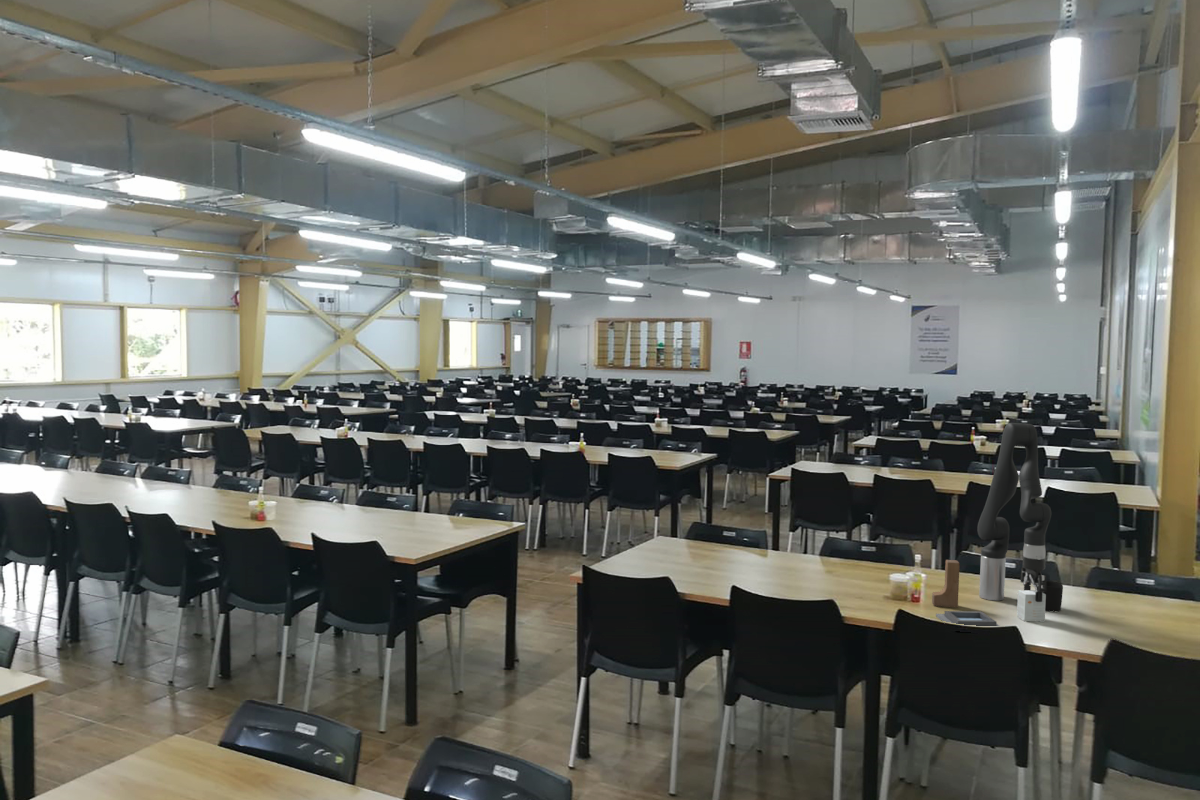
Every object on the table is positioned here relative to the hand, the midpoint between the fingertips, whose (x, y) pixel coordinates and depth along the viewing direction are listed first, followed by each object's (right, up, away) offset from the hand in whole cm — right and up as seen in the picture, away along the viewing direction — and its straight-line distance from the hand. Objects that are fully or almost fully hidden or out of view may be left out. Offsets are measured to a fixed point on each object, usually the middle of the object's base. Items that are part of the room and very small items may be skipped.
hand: (1032, 598), depth 318 cm
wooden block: (-26, -7, +17) cm, 32 cm away
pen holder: (+14, -8, +15) cm, 22 cm away
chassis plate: (-26, -8, -6) cm, 28 cm away
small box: (0, -8, +1) cm, 8 cm away
